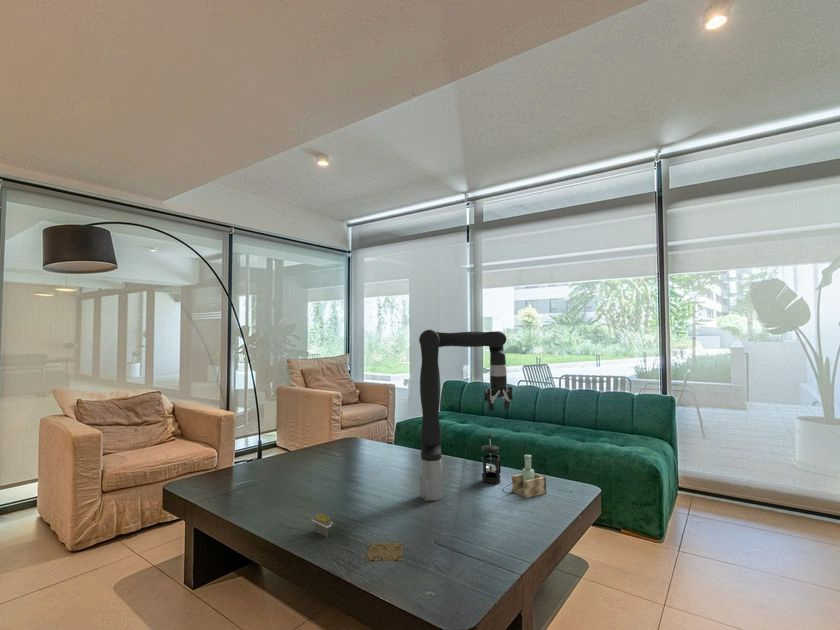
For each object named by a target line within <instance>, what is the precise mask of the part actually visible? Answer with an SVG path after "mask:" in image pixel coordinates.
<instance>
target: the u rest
mask: <svg viewBox="0 0 840 630" xmlns="http://www.w3.org/2000/svg"><path fill="white" fill-rule="evenodd" d="M511 492H514V493H516V494H517V495H520V496H522V497H524V498H526V499H528V498H532V497H537V496H540V495H543V494H548V490H547V478H546V476H544V475H541V474H539V473H536V472H534V479H531V480H526V481H524V490H523V473H520V474H514V475H511Z"/></svg>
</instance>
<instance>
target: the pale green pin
mask: <svg viewBox="0 0 840 630" xmlns="http://www.w3.org/2000/svg"><path fill="white" fill-rule="evenodd" d="M523 456H524V457H523V458H524V468H522V469H521V470H522V474H523V490H524V481H526V480H531V479H534V473H535V469H533V468H532V454H524V455H523Z"/></svg>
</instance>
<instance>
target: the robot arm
mask: <svg viewBox="0 0 840 630" xmlns="http://www.w3.org/2000/svg"><path fill="white" fill-rule="evenodd" d="M418 338H419V339H418V342H419V345H420V353H421V354H420V355H421V367H420V374H419V375H420V376H419V393H420V395H419V396H420V403H421V411H422V421H421V428H420V466H421V467H420V471H421V474H420V475H419V497H420V498H421V499H422V500H424V501H426V502H428V501H429V502H430V501H433V502H434V501H435V502H436V501H440V500H441V499H442V498H443V479H442V478H443V475H442V474H443V471H442V469H443V468H442V466H443V465H442V464H443V462H442V430H441V425H440V405H441V404H440V403H441V373H440V367H439V351H440V349H439V348H442V347H463V348H473V347H474V348H479V347H480V348H481V347H488V349H489V354H490V355H489V356H490V357H489V361H490V362H489V385H490V388H485V389H484V402H486V403H488V410H489V411H490V412H494V408H495V407H494V401H496V399H497V398H502V399H503V409H504V410H505V411H507V410H509V408H510V401H512V400H513V399H514V398H513V388H512V386H507V384H508V382H507V379H508V377H507V373H508V372H507V364H506V363H507V361H506V359H507V358H506V353H505V352H504V351H505V350H504V345H505V344H506V342H507V336H506V333H505V332H502V331H497V330H496V331H462V332H461V331H460V332H459V331H458V332H441V331H440V332H439V331H436V330H434V329H426V330H423V331H422V332H421V334H420V335H419V337H418Z"/></svg>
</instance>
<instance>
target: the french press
mask: <svg viewBox="0 0 840 630" xmlns="http://www.w3.org/2000/svg"><path fill="white" fill-rule="evenodd" d="M485 436H486V437H487V438H488V439H489V444H484V445H482V446H481V447H480V448H481V451H482V452H483V451H487V452H488V453H489V454H483V455H482V456H481V461H482V468H481V469H482V473H481V482H482V484H485V485H487V486H488V485H489V486H497V485H499V484H501V483H502V481H501V467H502V466H501V455H498V453H500V452H499V449H500V446H498V445H494V444H491V439H492V438H493V437H495V434H492V433H489V434H485ZM487 458H489V459H487ZM492 458H493V459H492ZM487 463H490V464H489V465H487ZM492 463H494V465H492Z"/></svg>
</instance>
